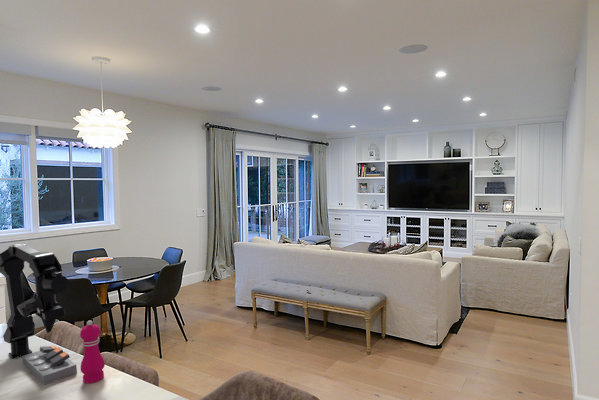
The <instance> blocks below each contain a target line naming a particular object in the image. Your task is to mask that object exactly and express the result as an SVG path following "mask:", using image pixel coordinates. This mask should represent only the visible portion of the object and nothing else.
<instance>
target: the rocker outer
mask: <svg viewBox="0 0 599 400" xmlns="http://www.w3.org/2000/svg"><path fill="white" fill-rule="evenodd" d="M70 358H71V357H70V354H69V353H67V352H66V351H63V353H61V354H59V355H58V356H56V357H54V358H52V359H50V362H51V363H52V364H53V365H54V366H56V365H58V364H59V363H60V364H63V363H64V362H65V360H66V359H70Z"/></svg>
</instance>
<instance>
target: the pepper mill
mask: <svg viewBox="0 0 599 400" xmlns="http://www.w3.org/2000/svg"><path fill="white" fill-rule="evenodd" d="M93 323H94V322H93V320H88V321H86V325H84V326H83V327H82V328H81V329H80V331H79V332H80V333H79V336H80V339H81V340H82V346H83V349H84V354H83V357H82V360H81V363H80V372H81V373H82V374H83V375H82V382H83V383H85V384H93V383H97V382H99V381H101V380H102V379H103V378H104V377H105V374H104V372H105V371H104V368H105V365H106V364H105V359H104V357H103V355H102V354H101V352H100V349H99V343H100V337H99V336H100V335H101V328H100V327H99V325H97V324H96V323H94V324H93Z"/></svg>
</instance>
